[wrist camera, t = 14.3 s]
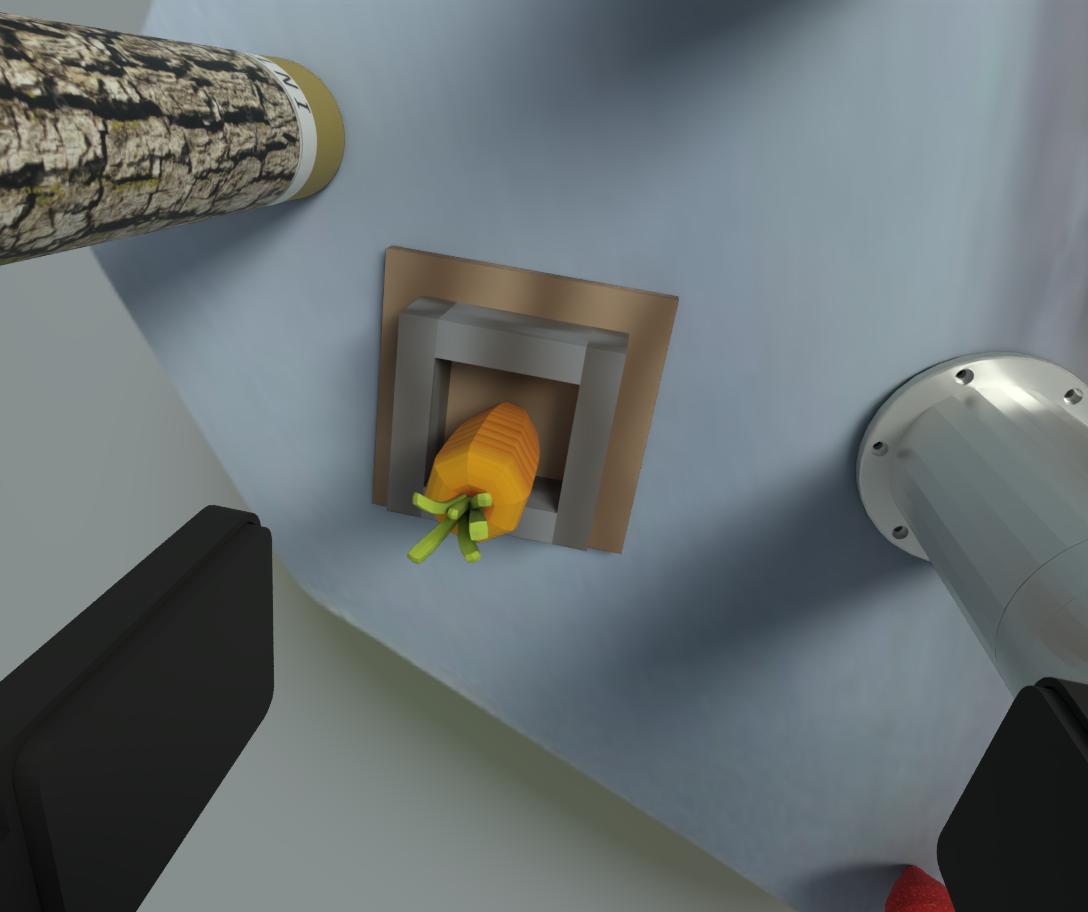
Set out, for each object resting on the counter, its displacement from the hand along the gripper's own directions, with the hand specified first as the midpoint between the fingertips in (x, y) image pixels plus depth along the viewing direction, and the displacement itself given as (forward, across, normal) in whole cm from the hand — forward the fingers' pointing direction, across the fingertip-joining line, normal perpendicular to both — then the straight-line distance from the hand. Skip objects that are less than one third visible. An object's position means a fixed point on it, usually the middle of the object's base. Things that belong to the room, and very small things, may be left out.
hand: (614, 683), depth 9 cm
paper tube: (+34, +20, -3) cm, 39 cm away
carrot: (+32, +6, +10) cm, 34 cm away
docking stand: (+33, +6, +10) cm, 35 cm away
